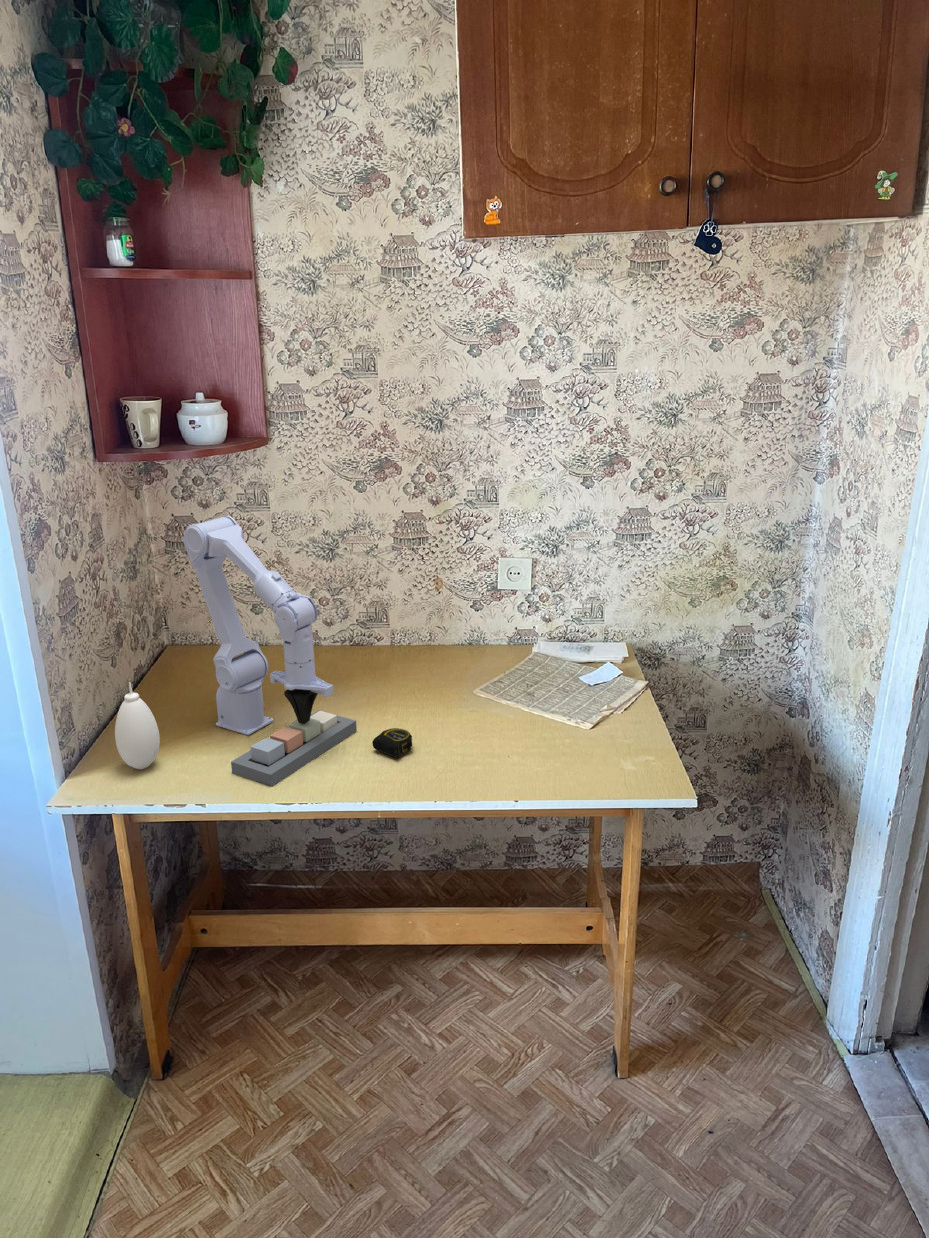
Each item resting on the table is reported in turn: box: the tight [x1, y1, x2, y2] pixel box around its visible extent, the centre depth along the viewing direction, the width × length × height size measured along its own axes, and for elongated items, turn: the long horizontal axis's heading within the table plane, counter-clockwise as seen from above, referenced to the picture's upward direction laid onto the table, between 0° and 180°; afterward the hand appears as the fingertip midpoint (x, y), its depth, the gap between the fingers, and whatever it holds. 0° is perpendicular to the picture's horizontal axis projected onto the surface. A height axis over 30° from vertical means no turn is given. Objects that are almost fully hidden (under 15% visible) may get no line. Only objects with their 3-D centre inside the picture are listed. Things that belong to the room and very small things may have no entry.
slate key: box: [250, 737, 285, 765], centre depth 180 cm, size 4×4×3 cm
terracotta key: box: [269, 726, 303, 753], centre depth 185 cm, size 4×4×3 cm
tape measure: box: [372, 727, 413, 759], centre depth 188 cm, size 7×7×4 cm
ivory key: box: [310, 710, 337, 735], centre depth 194 cm, size 4×4×3 cm
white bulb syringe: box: [114, 681, 161, 770], centre depth 180 cm, size 8×8×18 cm
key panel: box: [230, 709, 358, 788], centre depth 188 cm, size 10×26×2 cm, turn 149°
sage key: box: [287, 718, 321, 742], centre depth 189 cm, size 4×4×3 cm
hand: (304, 721), depth 188 cm, fingers closed
